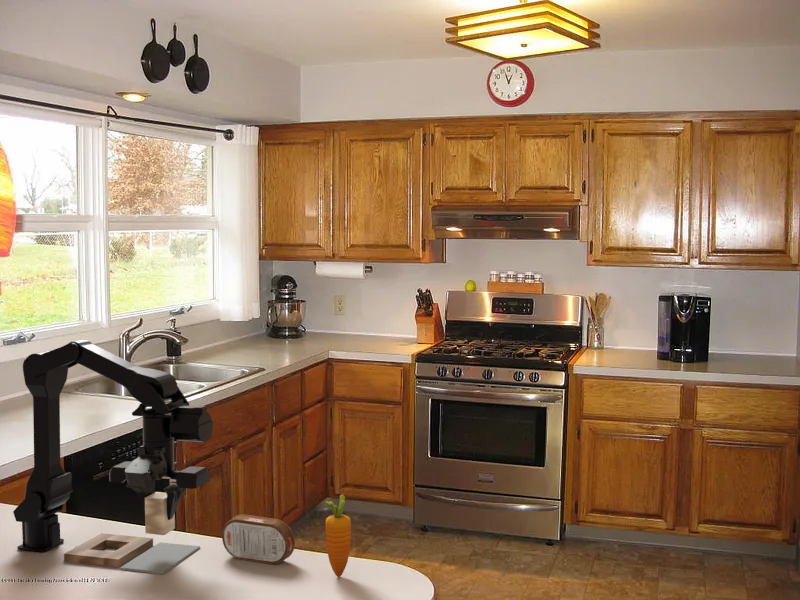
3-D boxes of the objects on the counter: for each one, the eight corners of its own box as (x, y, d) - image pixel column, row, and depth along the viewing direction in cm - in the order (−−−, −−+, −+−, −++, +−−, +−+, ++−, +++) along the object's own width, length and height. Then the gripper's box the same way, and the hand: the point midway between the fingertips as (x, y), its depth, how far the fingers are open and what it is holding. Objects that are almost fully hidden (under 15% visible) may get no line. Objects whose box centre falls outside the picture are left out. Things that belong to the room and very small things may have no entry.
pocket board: (64, 561, 163) (63, 553, 163) (101, 540, 175) (101, 533, 175) (118, 567, 160) (118, 559, 160) (153, 545, 172) (152, 538, 172)
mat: (120, 569, 159) (120, 567, 159) (160, 544, 172) (160, 542, 172) (162, 574, 157) (162, 572, 157) (199, 548, 170) (199, 546, 170)
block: (145, 533, 163) (144, 497, 162) (156, 526, 167) (156, 491, 166) (164, 535, 162) (163, 499, 161) (174, 528, 166) (174, 493, 165)
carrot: (331, 584, 152) (330, 502, 151) (320, 574, 156) (320, 494, 155) (356, 579, 154) (356, 498, 153) (345, 569, 158) (344, 491, 157)
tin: (296, 562, 162) (295, 519, 162) (288, 568, 159) (287, 524, 159) (228, 552, 168) (227, 511, 167) (219, 558, 165) (219, 515, 164)
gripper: (90, 445, 158) (92, 527, 159) (180, 451, 153) (181, 536, 154) (125, 432, 168) (126, 509, 169) (209, 438, 164) (211, 517, 165)
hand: (160, 518), depth 164 cm, fingers closed on block, 4 cm apart
